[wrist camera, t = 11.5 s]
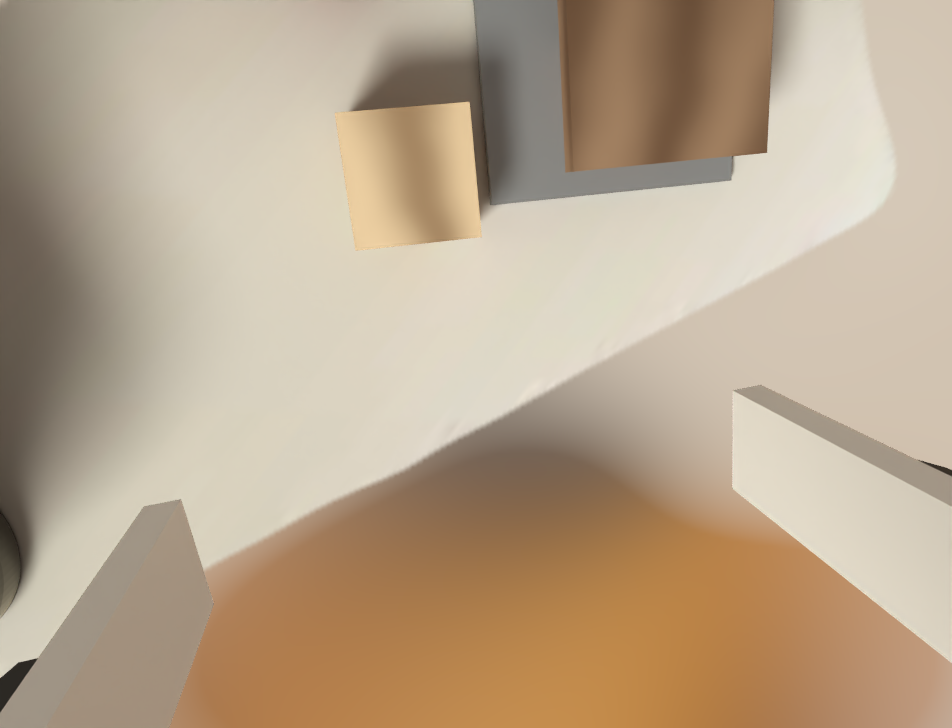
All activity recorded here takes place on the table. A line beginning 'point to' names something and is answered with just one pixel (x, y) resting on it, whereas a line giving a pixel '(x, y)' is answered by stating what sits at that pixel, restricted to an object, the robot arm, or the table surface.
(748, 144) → the board
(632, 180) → the placemat
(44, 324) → the table surface
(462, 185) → the light wooden block
